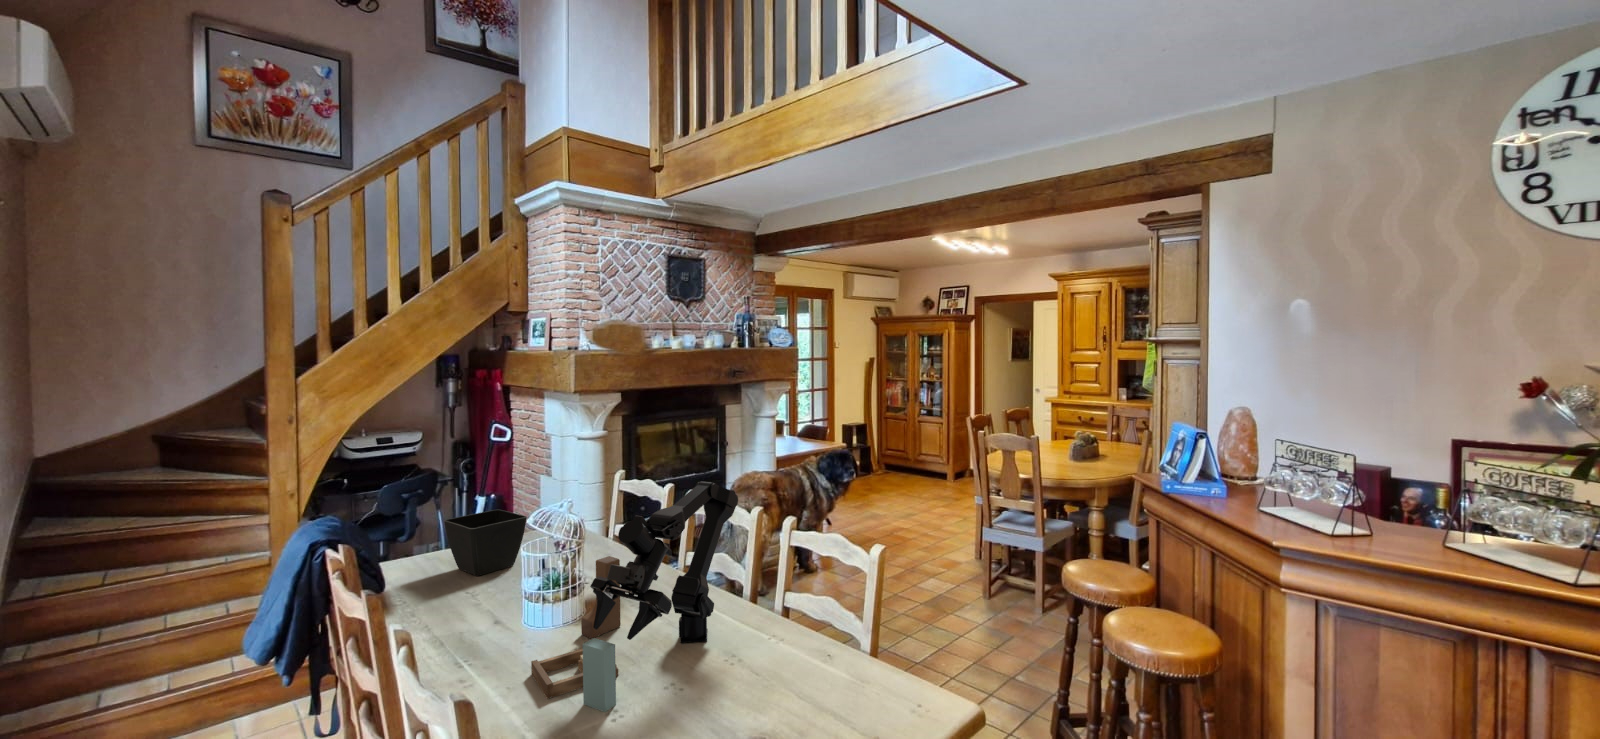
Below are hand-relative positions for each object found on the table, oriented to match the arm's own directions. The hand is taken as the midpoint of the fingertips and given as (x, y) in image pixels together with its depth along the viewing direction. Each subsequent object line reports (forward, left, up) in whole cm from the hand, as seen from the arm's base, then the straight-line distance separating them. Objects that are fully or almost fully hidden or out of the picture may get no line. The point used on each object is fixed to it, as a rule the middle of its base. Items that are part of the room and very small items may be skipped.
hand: (611, 633), depth 129 cm
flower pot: (+55, -85, -13) cm, 102 cm away
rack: (+10, -9, -13) cm, 19 cm away
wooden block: (+8, -31, -13) cm, 35 cm away
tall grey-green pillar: (+2, +3, -13) cm, 14 cm away
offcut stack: (+6, -11, -13) cm, 18 cm away
